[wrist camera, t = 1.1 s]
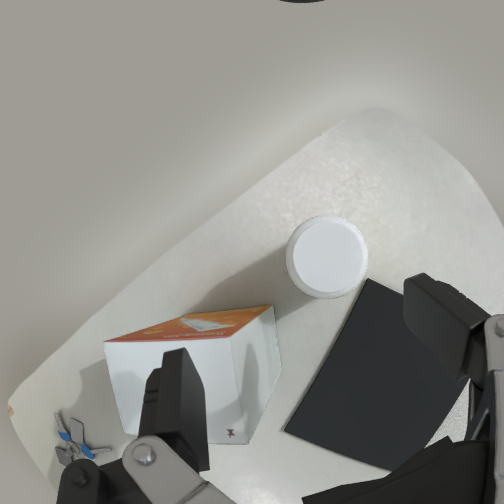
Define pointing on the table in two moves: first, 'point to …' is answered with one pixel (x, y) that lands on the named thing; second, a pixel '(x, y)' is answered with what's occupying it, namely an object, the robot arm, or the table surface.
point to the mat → (376, 387)
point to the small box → (204, 367)
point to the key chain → (76, 437)
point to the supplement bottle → (326, 257)
